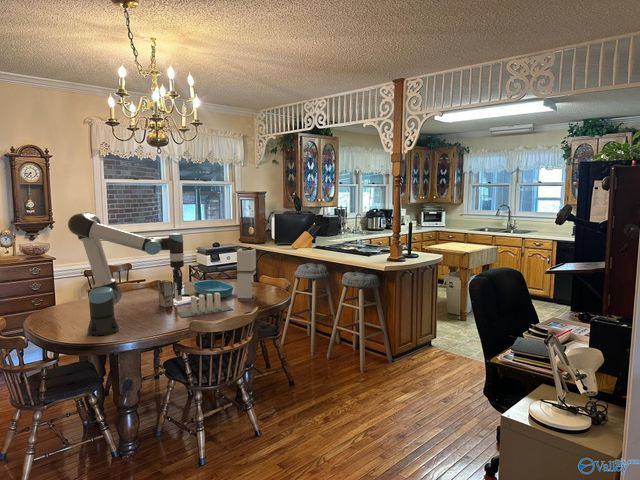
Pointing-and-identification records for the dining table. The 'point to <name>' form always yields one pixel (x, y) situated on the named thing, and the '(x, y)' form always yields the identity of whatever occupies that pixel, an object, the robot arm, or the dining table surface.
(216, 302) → the domino
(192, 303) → the domino
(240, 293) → the gray square tower
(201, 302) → the domino
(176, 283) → the domino
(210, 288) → the casserole dish
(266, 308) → the dining table surface
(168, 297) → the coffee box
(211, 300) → the domino
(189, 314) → the runner mat
